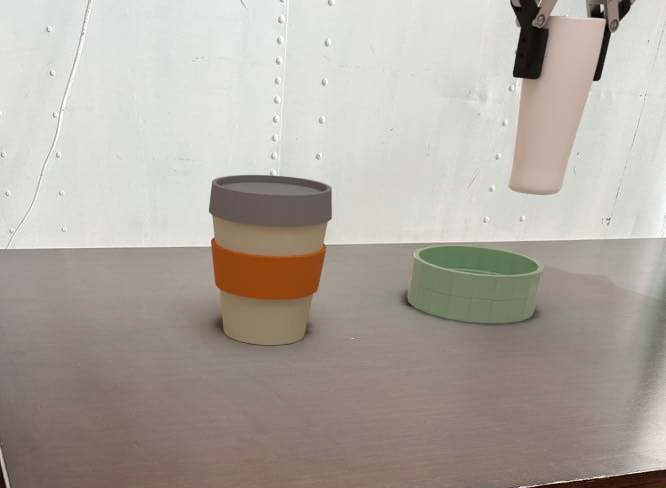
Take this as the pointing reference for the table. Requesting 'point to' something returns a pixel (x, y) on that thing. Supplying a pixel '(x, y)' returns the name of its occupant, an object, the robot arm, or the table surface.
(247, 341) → the reusable coffee cup
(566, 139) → the drinking glass
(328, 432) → the table surface
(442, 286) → the green plastic ring
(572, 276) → the table surface
